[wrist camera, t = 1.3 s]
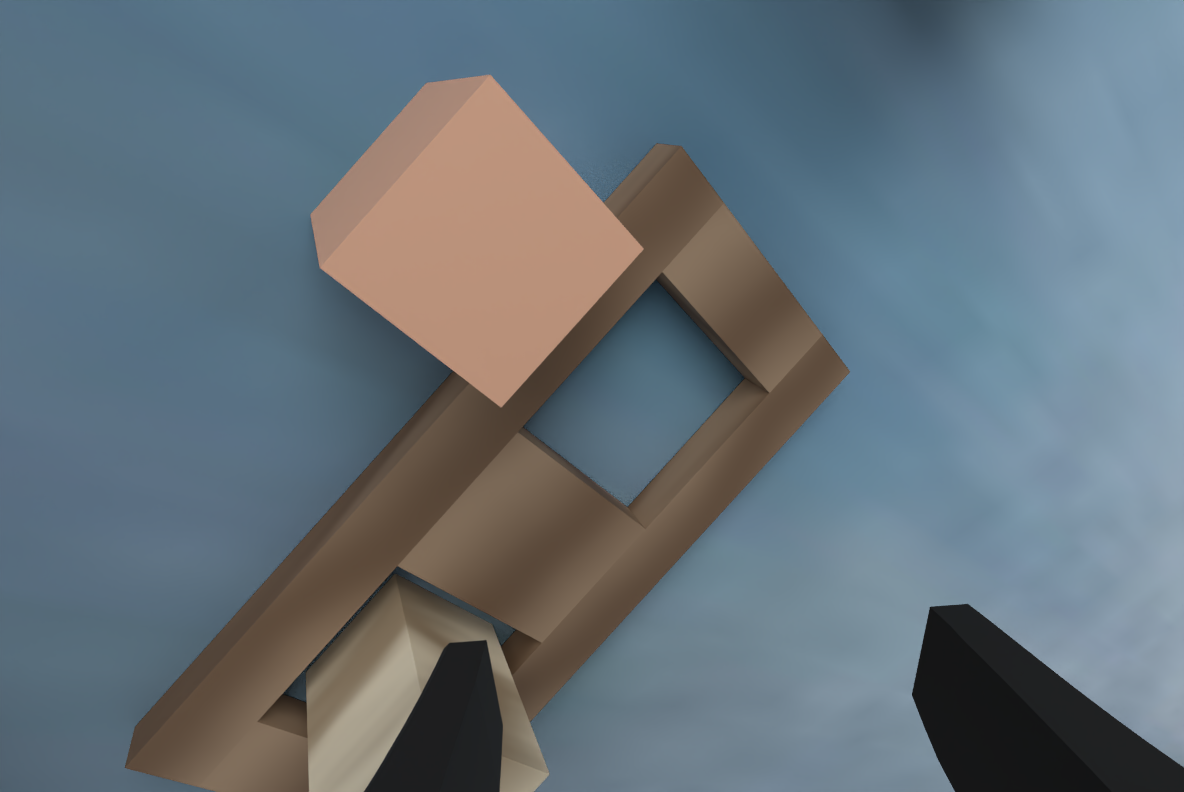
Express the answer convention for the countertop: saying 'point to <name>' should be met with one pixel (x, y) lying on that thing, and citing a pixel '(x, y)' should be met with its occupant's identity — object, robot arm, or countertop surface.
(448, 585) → the puzzle board
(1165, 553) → the countertop surface
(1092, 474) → the countertop surface
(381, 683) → the maple block
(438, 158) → the terracotta block
